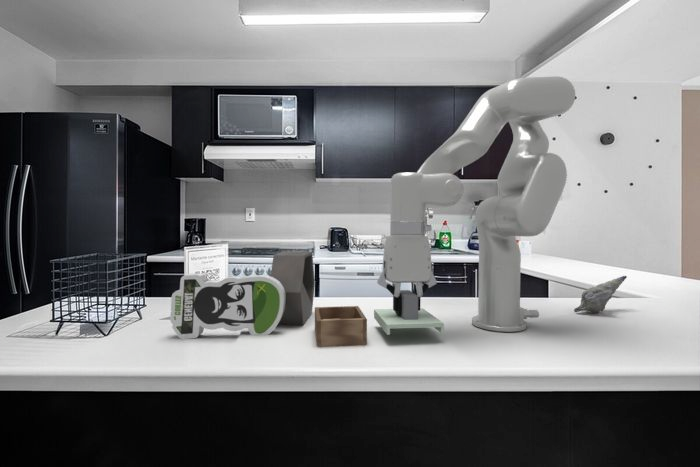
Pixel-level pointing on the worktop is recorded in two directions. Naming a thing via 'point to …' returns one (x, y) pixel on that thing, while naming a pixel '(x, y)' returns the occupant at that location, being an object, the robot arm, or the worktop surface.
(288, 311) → the planter
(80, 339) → the worktop surface
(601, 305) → the seashell
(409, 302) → the lid
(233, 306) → the cutout
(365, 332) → the wooden box
